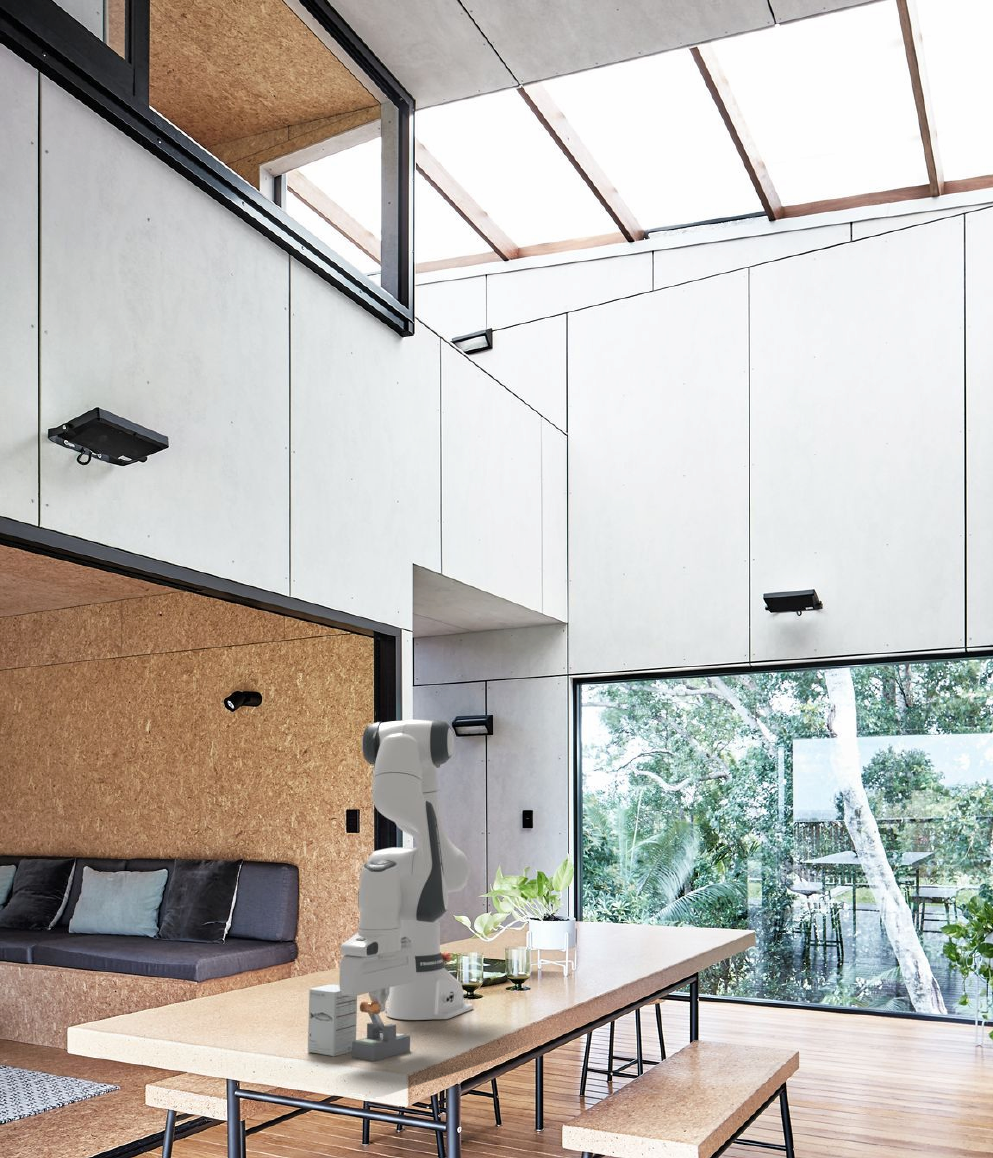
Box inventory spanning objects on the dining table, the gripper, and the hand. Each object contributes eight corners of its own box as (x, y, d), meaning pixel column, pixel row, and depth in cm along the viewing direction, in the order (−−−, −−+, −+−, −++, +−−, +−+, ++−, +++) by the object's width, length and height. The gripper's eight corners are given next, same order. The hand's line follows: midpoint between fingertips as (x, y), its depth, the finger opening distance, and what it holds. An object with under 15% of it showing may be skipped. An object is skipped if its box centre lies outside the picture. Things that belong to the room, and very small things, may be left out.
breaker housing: (388, 1046, 239) (388, 1017, 240) (410, 1050, 236) (410, 1021, 237) (351, 1057, 231) (352, 1026, 232) (374, 1061, 227) (374, 1030, 228)
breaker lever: (378, 1027, 236) (364, 999, 234) (392, 1029, 234) (378, 1001, 231) (372, 1034, 235) (358, 1006, 232) (387, 1037, 232) (373, 1008, 230)
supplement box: (306, 1052, 235) (307, 988, 237) (330, 1045, 241) (331, 983, 243) (333, 1057, 231) (334, 991, 233) (357, 1050, 237) (358, 986, 239)
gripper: (400, 934, 246) (400, 1001, 244) (334, 946, 230) (333, 1018, 227) (423, 936, 242) (423, 1004, 240) (357, 949, 226) (357, 1022, 224)
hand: (379, 1011), depth 234 cm, fingers closed
